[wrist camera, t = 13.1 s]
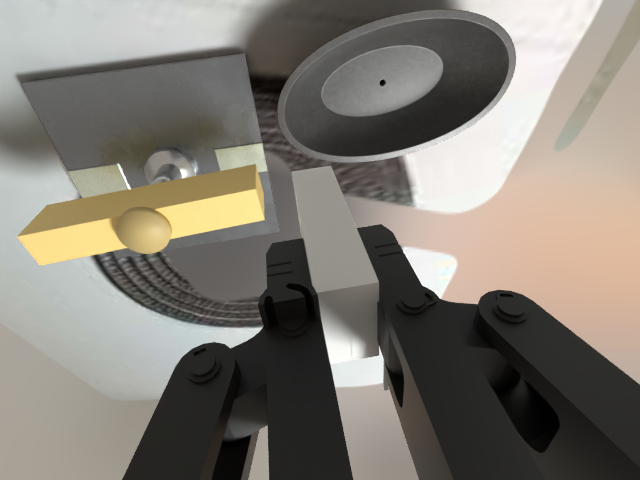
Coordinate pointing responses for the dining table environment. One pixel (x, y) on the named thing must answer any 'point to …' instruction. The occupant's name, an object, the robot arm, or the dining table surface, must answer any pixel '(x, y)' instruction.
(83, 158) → the base
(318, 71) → the bowl
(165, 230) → the bar
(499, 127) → the dining table surface
